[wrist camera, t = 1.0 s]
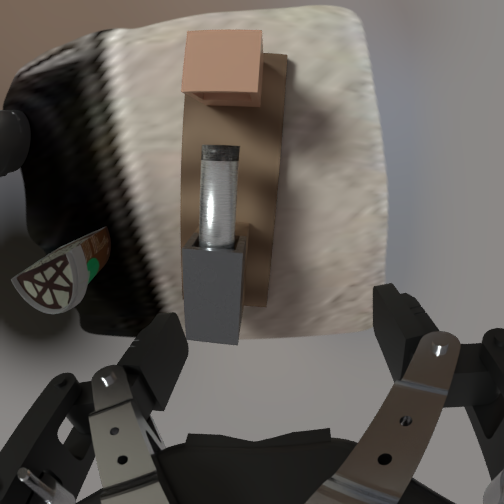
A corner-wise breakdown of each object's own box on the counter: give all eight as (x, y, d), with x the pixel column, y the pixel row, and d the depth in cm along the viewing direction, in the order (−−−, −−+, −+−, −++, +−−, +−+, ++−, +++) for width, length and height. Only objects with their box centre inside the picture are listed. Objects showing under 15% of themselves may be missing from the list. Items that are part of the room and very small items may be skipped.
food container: (71, 288, 37) (32, 324, 27) (53, 250, 35) (8, 280, 25) (135, 267, 35) (97, 308, 26) (115, 222, 33) (69, 252, 24)
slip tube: (232, 320, 30) (229, 338, 27) (203, 317, 30) (197, 334, 27) (241, 145, 23) (238, 146, 21) (206, 144, 24) (198, 144, 21)
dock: (266, 302, 36) (265, 329, 30) (185, 294, 36) (172, 320, 30) (286, 58, 25) (290, 40, 20) (191, 55, 26) (176, 40, 20)
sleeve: (241, 319, 30) (237, 345, 26) (195, 315, 30) (186, 339, 26) (246, 236, 27) (242, 253, 23) (194, 232, 27) (182, 248, 23)
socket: (260, 107, 26) (257, 92, 18) (206, 105, 27) (181, 91, 18) (263, 61, 25) (262, 30, 16) (209, 60, 25) (187, 31, 16)
